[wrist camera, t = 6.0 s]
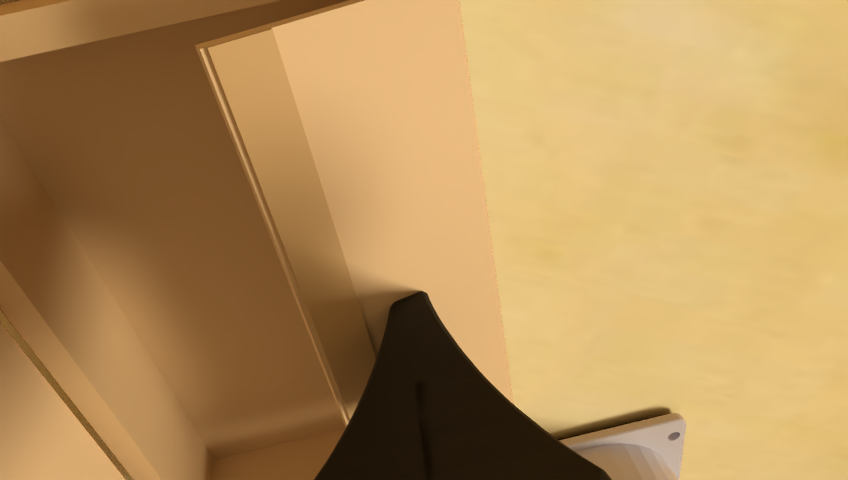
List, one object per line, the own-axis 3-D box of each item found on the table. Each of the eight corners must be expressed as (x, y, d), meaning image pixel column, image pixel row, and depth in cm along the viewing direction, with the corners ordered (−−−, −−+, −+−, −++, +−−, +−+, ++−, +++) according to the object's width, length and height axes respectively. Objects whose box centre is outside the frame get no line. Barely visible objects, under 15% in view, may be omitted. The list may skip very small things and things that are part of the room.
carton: (493, 399, 21) (515, 469, 18) (205, 468, 21) (187, 549, 18) (414, -85, 12) (436, -79, 10) (-86, 23, 12) (-197, 58, 9)
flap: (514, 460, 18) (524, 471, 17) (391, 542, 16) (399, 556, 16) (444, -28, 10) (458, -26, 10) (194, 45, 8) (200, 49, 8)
